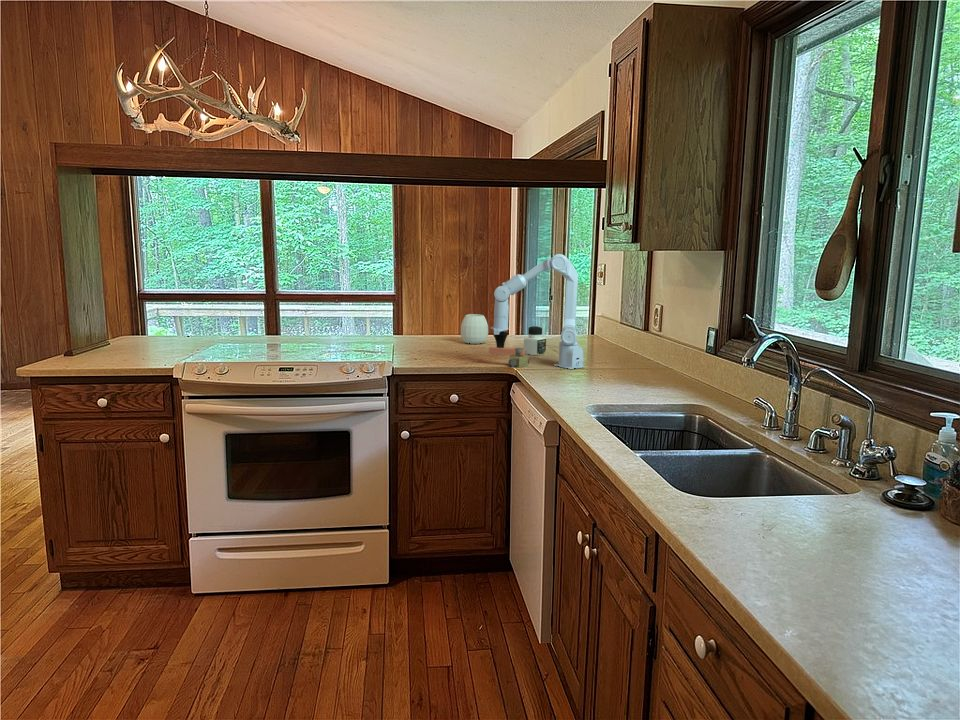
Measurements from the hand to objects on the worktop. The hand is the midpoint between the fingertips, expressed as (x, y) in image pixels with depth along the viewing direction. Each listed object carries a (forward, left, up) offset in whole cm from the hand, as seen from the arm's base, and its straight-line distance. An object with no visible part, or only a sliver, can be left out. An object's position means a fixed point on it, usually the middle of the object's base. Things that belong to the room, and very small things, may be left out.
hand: (500, 350), depth 271 cm
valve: (-8, -4, -6) cm, 10 cm away
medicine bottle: (+11, -28, -6) cm, 30 cm away
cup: (+50, -23, -6) cm, 56 cm away
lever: (-4, -1, -1) cm, 4 cm away
